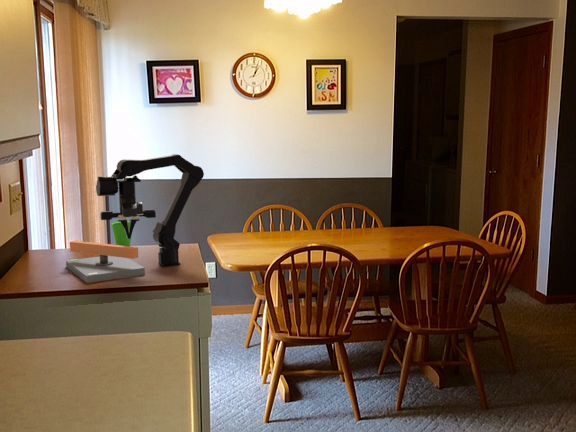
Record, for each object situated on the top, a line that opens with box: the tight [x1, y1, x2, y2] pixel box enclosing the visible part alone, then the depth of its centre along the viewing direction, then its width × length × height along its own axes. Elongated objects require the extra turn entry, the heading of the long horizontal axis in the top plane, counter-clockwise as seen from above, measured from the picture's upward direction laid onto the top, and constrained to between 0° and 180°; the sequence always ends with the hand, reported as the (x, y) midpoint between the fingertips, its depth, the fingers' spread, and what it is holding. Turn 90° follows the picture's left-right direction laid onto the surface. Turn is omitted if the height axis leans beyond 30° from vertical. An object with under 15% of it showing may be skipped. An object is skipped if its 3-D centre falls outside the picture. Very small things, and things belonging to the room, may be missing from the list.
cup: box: [110, 221, 132, 247], centre depth 258 cm, size 9×9×11 cm
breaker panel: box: [65, 255, 146, 284], centre depth 221 cm, size 20×28×3 cm
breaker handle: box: [69, 240, 139, 264], centre depth 220 cm, size 3×30×7 cm, turn 63°
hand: (129, 238), depth 219 cm, fingers closed
